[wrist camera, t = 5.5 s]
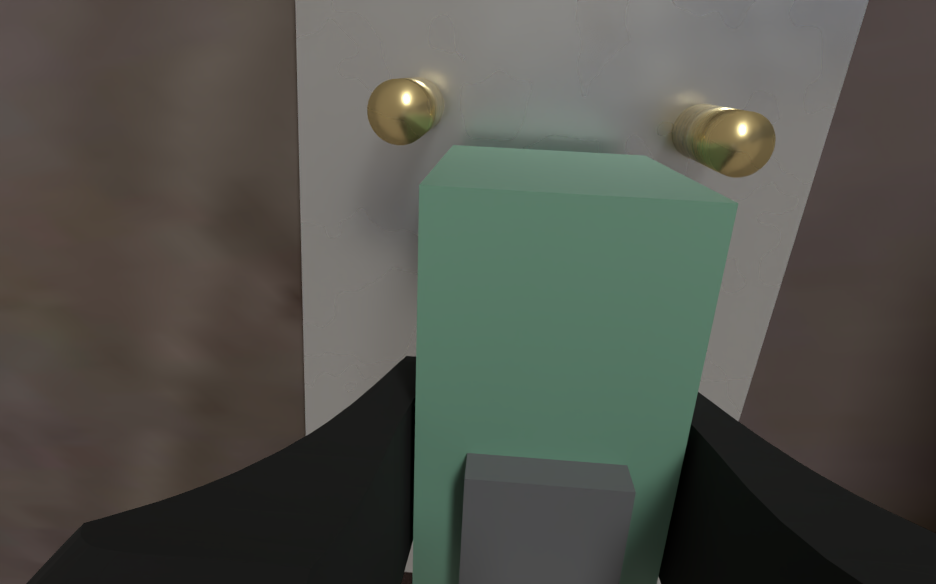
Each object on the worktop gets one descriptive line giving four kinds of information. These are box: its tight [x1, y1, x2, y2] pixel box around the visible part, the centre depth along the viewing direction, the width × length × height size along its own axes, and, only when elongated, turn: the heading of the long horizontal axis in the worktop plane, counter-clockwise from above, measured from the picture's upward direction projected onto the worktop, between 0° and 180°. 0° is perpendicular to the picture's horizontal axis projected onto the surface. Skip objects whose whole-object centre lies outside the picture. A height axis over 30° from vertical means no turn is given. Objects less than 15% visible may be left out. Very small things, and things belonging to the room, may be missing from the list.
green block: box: [412, 145, 738, 584], centre depth 11 cm, size 4×8×6 cm, turn 177°
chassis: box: [295, 0, 869, 584], centre depth 14 cm, size 12×18×4 cm, turn 175°
